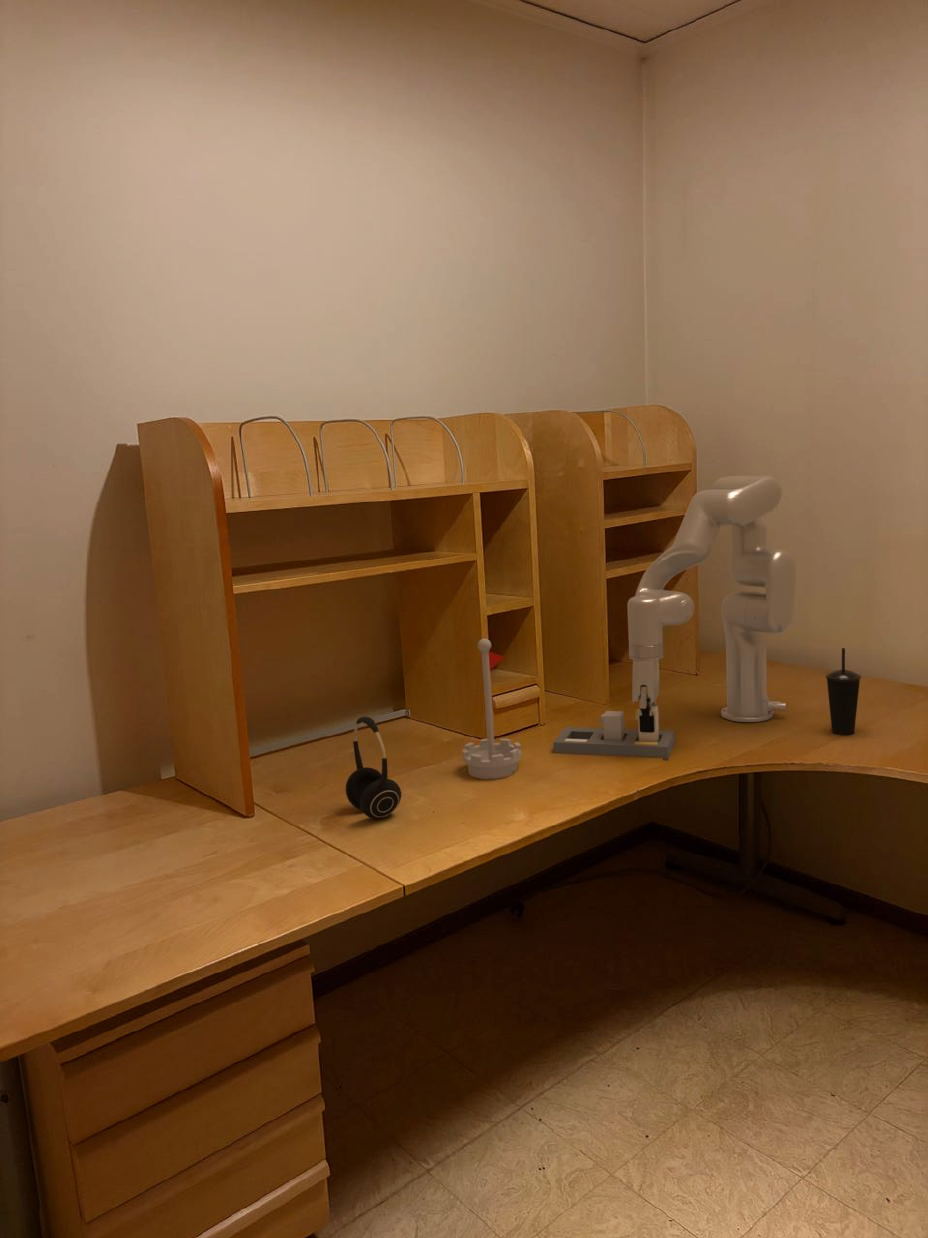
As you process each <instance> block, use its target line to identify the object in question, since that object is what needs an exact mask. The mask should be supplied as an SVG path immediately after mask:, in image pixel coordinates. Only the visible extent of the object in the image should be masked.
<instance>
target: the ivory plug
mask: <svg viewBox="0 0 928 1238" xmlns="http://www.w3.org/2000/svg"><path fill="white" fill-rule="evenodd" d="M634 714H635V715H634V717H635V721H637V727H638V731H639V741H644V742H658V741H659V729H660V727H659V726H660V725H659V723H660V721H659V706H658V705H656V706H653V715H654V732H653V733H647V732H640V720H639V715H640V706H638V708H636V709H635V713H634Z"/></svg>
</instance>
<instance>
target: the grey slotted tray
mask: <svg viewBox="0 0 928 1238" xmlns="http://www.w3.org/2000/svg"><path fill="white" fill-rule="evenodd" d="M624 717H625V716H624V711H616V710H615V711H614V710H605V712H604V713H602V714H601V716H600V726H602V727H582V726H581V727H577V726H574V727H573V726H564V728H563V729H562V730H561V732H560V733H559V734H558V735H557V737H556V738H555V739H554V740H553V742H552V743H553V744H552V745H553V754H571V755H591V756H592V755H594V756H595V755H596V756H611V757H612V756H615V757H632V758H633V757H636V758H657V759H659V758H660V759H662V761H669V759H670V757H671V753H672V751H673V749H674V746H675V744H674V743H675V741H676V738H675V730H668V729H667V730H663V729H661V730H659V741H658V742H644V741H639V731H638V729H635V728H633V729H632V728H625V720H624Z"/></svg>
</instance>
